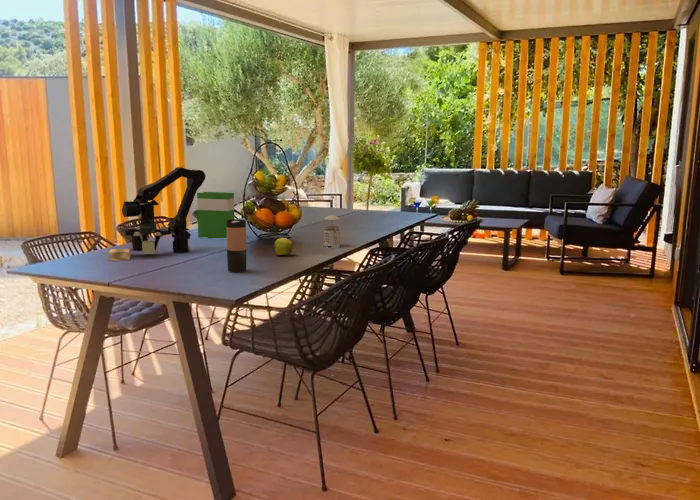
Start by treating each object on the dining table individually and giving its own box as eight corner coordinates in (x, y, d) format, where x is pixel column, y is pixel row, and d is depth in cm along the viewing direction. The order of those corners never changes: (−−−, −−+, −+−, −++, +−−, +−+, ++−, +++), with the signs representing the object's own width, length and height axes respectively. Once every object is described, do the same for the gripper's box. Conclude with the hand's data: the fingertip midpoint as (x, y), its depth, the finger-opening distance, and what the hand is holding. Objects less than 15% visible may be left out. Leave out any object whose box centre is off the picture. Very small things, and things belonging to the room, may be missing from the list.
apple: (273, 253, 273) (273, 236, 272) (293, 254, 273) (293, 236, 272) (271, 257, 266) (271, 239, 264) (292, 257, 266) (292, 239, 264)
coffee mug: (143, 251, 275) (142, 229, 273) (126, 250, 277) (125, 229, 275) (156, 247, 286) (155, 226, 285) (140, 246, 288) (139, 226, 286)
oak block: (130, 257, 262) (130, 248, 261) (129, 260, 254) (128, 251, 253) (110, 258, 259) (110, 249, 259) (109, 261, 252) (108, 252, 251)
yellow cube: (156, 251, 269) (155, 240, 268) (154, 253, 264) (153, 242, 263) (144, 251, 268) (143, 240, 267) (142, 253, 263) (142, 242, 262)
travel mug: (241, 267, 241) (240, 218, 238) (250, 271, 235) (249, 220, 232) (223, 270, 237) (222, 220, 233) (232, 273, 231) (231, 222, 227)
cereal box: (198, 237, 318) (196, 192, 314) (205, 235, 325) (203, 191, 321) (228, 239, 314) (227, 193, 309) (234, 237, 321) (233, 192, 316)
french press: (336, 243, 303) (337, 194, 299) (346, 247, 293) (347, 196, 289) (319, 245, 299) (319, 195, 295) (328, 248, 289) (328, 197, 285)
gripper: (121, 217, 254) (123, 254, 256) (167, 217, 257) (168, 253, 260) (126, 214, 264) (128, 249, 267) (170, 214, 268) (171, 248, 270)
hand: (149, 250), depth 266 cm, fingers closed on yellow cube, 5 cm apart
